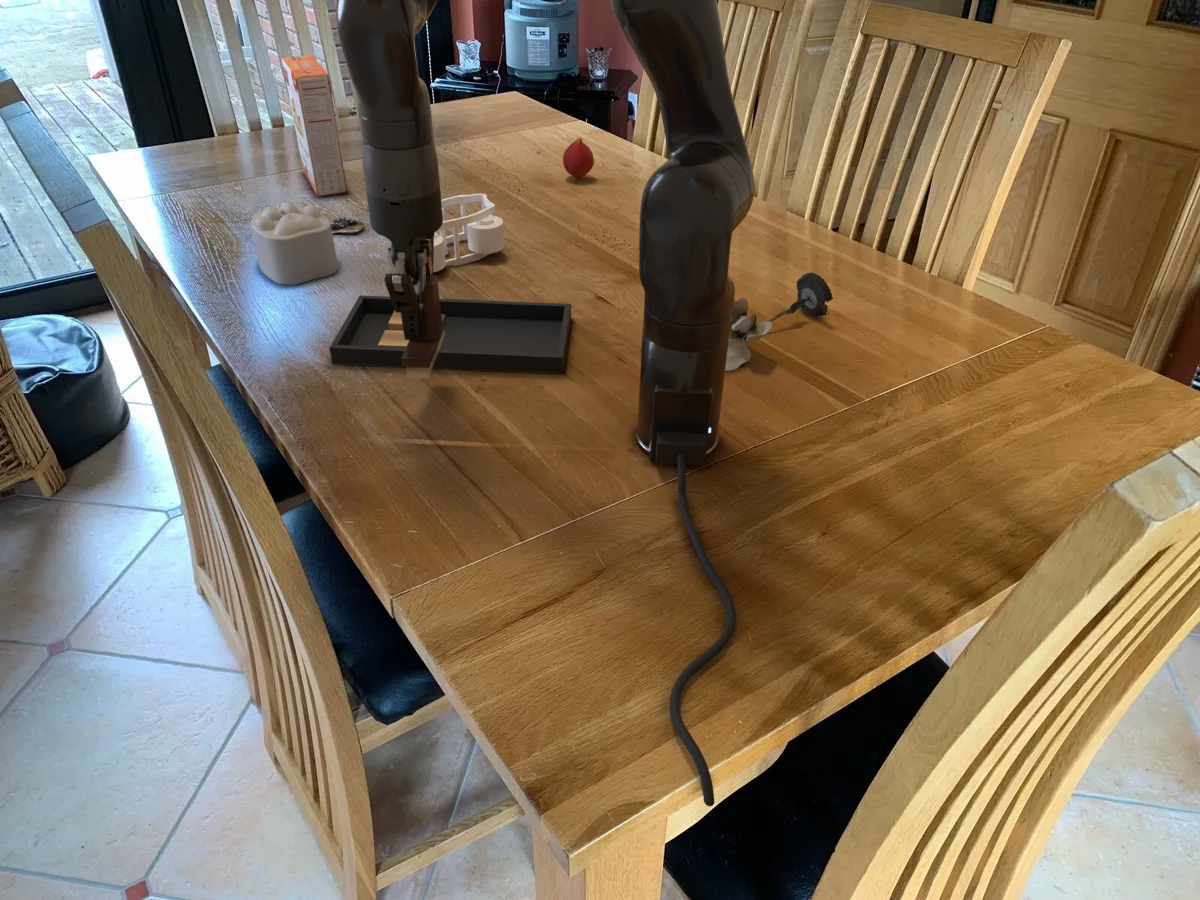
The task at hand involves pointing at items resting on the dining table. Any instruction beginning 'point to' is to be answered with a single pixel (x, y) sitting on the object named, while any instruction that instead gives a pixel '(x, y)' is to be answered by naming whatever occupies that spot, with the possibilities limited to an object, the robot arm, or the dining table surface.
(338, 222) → the lumpy flat slab
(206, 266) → the dining table surface
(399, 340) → the offcut
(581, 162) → the onion
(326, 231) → the lumpy-topped squat cylinder
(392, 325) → the offcut
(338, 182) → the cracker box
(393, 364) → the tray
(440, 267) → the wheeled car silhouette
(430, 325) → the brush
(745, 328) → the artificial flower
